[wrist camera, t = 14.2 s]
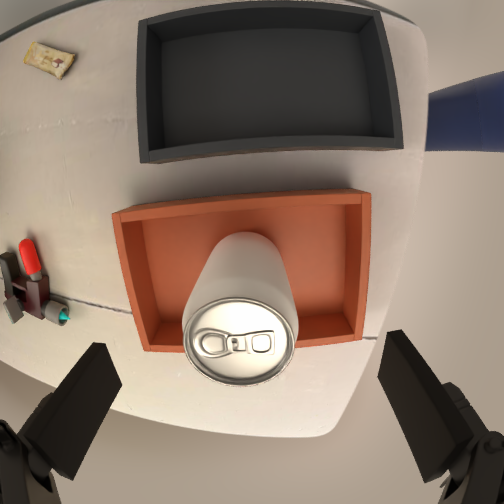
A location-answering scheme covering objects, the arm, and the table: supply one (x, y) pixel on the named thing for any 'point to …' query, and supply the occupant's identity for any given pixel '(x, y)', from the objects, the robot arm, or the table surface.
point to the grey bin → (264, 81)
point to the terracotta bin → (261, 222)
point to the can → (241, 313)
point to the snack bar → (48, 59)
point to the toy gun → (29, 288)
